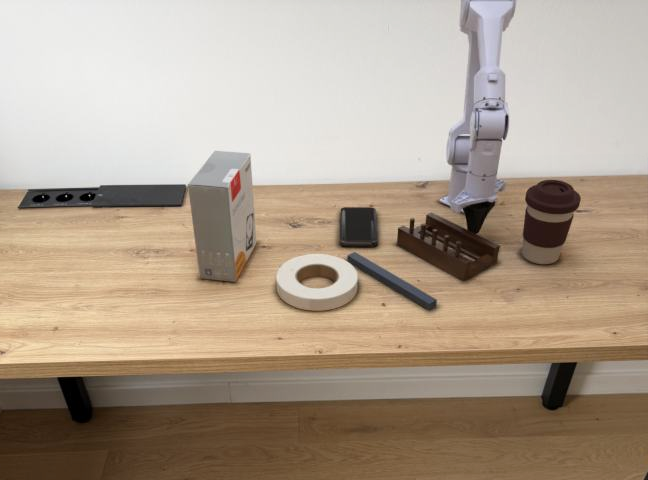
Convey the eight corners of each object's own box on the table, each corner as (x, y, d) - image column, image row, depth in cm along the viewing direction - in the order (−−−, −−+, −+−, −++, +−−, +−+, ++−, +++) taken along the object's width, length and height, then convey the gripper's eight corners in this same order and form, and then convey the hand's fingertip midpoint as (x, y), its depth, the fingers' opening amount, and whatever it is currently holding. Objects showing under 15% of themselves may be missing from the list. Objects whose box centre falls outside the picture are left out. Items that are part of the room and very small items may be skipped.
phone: (339, 241, 140) (340, 207, 152) (339, 246, 141) (340, 211, 153) (378, 242, 140) (376, 207, 151) (377, 247, 141) (376, 211, 152)
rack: (429, 228, 146) (432, 199, 142) (497, 262, 136) (502, 231, 131) (396, 244, 141) (398, 214, 137) (463, 281, 131) (468, 249, 126)
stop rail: (354, 258, 138) (354, 251, 137) (436, 306, 125) (437, 299, 124) (347, 261, 137) (347, 255, 136) (428, 310, 124) (429, 303, 123)
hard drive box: (236, 283, 131) (226, 188, 119) (198, 279, 132) (184, 184, 120) (258, 242, 143) (250, 151, 130) (223, 239, 144) (212, 149, 132)
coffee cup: (508, 261, 136) (521, 192, 126) (521, 238, 143) (535, 171, 133) (559, 273, 132) (576, 203, 123) (570, 249, 139) (587, 181, 129)
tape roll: (363, 270, 134) (364, 257, 132) (349, 316, 123) (349, 303, 121) (287, 261, 137) (286, 249, 135) (266, 306, 125) (265, 293, 124)
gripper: (474, 188, 127) (465, 251, 135) (522, 166, 134) (510, 227, 142) (445, 176, 131) (438, 238, 139) (493, 155, 138) (484, 215, 147)
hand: (473, 232), depth 141 cm, fingers closed
